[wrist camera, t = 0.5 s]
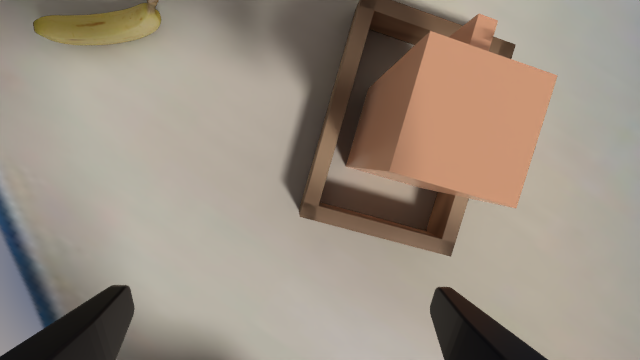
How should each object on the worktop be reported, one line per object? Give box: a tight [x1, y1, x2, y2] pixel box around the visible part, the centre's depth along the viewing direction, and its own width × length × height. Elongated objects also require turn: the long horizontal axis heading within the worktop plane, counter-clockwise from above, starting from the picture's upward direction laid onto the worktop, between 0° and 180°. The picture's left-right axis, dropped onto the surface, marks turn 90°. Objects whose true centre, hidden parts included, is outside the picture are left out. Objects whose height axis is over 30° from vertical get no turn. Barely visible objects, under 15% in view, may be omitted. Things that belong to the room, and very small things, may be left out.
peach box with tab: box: [346, 14, 557, 208], centre depth 18 cm, size 8×6×10 cm
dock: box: [299, 0, 515, 256], centre depth 21 cm, size 15×11×2 cm
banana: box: [33, 0, 161, 45], centre depth 18 cm, size 8×2×4 cm, turn 101°
